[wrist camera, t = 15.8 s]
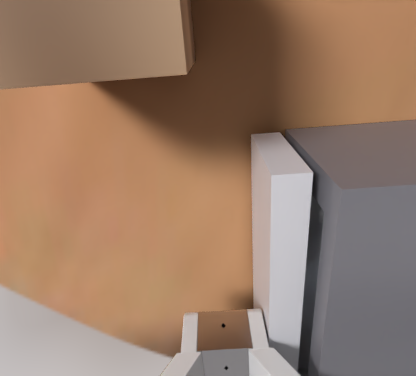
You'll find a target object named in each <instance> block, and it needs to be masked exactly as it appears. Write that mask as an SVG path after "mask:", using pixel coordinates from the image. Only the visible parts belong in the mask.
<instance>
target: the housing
mask: <svg viewBox="0 0 416 376" xmlns="http://www.w3.org/2000/svg"><path fill="white" fill-rule="evenodd" d="M285 139H286V140H287V142H288V143H289V144H290V145H291V146H292V148H293V149H294V150H295V151H296V152H297V154H298V155H299V156H300V157H301V158H302V160H303V161H304V162H305V163H306V164H307V166H308V167H309V168H310V169H311V170H312V172H313V182H312V195H313V197H314V198H315V200H316V201H317V203H318V204H319V205H320V207H321V208H322V210H323V211H324V218H323V228H322V238H321V248H320V258H319V268H318V278H317V288H316V297H315V307H314V317H313V327H312V337H311V347H310V357H309V367H308V376H416V120H406V121H392V122H379V123H365V124H352V125H338V126H325V127H311V128H298V129H286V131H285Z"/></svg>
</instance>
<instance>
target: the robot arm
mask: <svg viewBox="0 0 416 376" xmlns="http://www.w3.org/2000/svg"><path fill="white" fill-rule="evenodd" d="M160 376H300V374H299V373H298V372H297V371H296V370H295V369H294V368H293V367H292V366H291V365H290V364H289V363H288V362H287V361H286V360H285V359H284V358H283V357H282V356H281V355H280V354H279V353H278V352H277V351H276V350H275V349H274V348H269V343H268V339H267V334H266V329H265V325H264V320H263V315H262V311H261V309H260V308H259V309H247V310H246V309H242V310H228V311H215V312H192V313H185V314H184V320H183V332H182V345H181V353H176V355H175V356H174V357H173V359H172V360H171V361H170V363H169V364H168V365H167V367H166V368H165V369H164V371H163V372H162V373H161V375H160Z"/></svg>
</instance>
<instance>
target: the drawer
mask: <svg viewBox="0 0 416 376" xmlns="http://www.w3.org/2000/svg"><path fill="white" fill-rule="evenodd" d="M251 170H252V238H253V307H254V309H259V308H260V309H261V311H262V315H263V320H264V325H265V329H266V334H267V339H268V343H269V348H274V349H275V350H276V351H277V352H278V353H279V354H280V355H281V356H282V357H283V358H284V359H285V360H286V361H287V362H288V363H289V364H290V365H291V366H292V367H293V368H294V369H295V370H296V371H297V372H298V373H299V374H300V376H308V367H309V357H310V347H311V337H312V327H313V317H314V307H315V297H316V288H317V278H318V268H319V258H320V248H321V238H322V228H323V218H324V211H323V210H322V208H321V207H320V205H319V204H318V203H317V201H316V200H315V198H314V197H313V195H312V182H313V172H312V170H311V169H310V168H309V167H308V166H307V164H306V163H305V162H304V161H303V160H302V158H301V157H300V156H299V155H298V154H297V152H296V151H295V150H294V149H293V148H292V146H291V145H290V144H289V143H288V142H287V140H286V139H285V138H284V137H283V136H282V134H281V133H280V132H275V133H262V134H251Z"/></svg>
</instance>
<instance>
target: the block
mask: <svg viewBox="0 0 416 376" xmlns="http://www.w3.org/2000/svg"><path fill="white" fill-rule="evenodd" d="M195 61H196V58H195V46H194V34H193V22H192V11H191V0H0V89H11V88H24V87H37V86H49V85H62V84H74V83H87V82H99V81H112V80H124V79H137V78H149V77H162V76H174V75H187V74H188V72H189V70H190V69H191V67H192V66H193V64H194V63H195Z"/></svg>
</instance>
